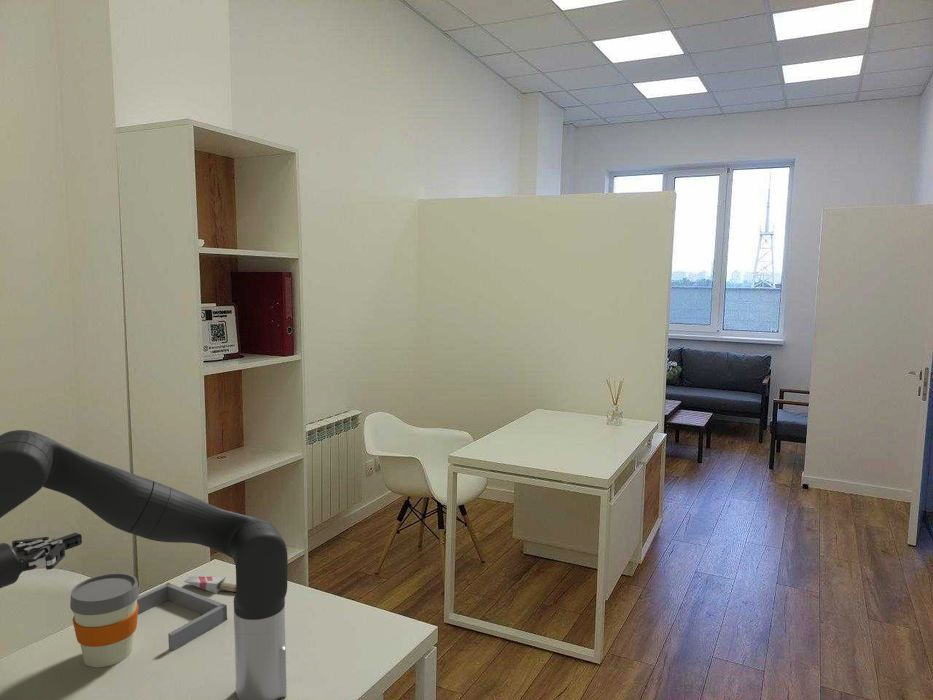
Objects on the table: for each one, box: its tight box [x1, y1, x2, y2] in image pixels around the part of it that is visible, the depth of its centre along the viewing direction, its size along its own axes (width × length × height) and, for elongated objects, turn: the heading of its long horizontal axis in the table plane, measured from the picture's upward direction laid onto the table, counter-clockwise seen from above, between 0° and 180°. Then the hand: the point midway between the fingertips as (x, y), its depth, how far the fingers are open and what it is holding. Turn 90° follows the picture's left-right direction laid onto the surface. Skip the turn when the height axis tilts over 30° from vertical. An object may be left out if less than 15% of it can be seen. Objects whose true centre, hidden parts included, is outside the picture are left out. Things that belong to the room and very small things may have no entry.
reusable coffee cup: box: [69, 572, 140, 668], centre depth 138 cm, size 13×13×15 cm
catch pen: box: [137, 582, 228, 652], centre depth 152 cm, size 14×20×4 cm
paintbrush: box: [183, 576, 236, 594], centre depth 167 cm, size 4×3×20 cm
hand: (79, 538), depth 131 cm, fingers closed
